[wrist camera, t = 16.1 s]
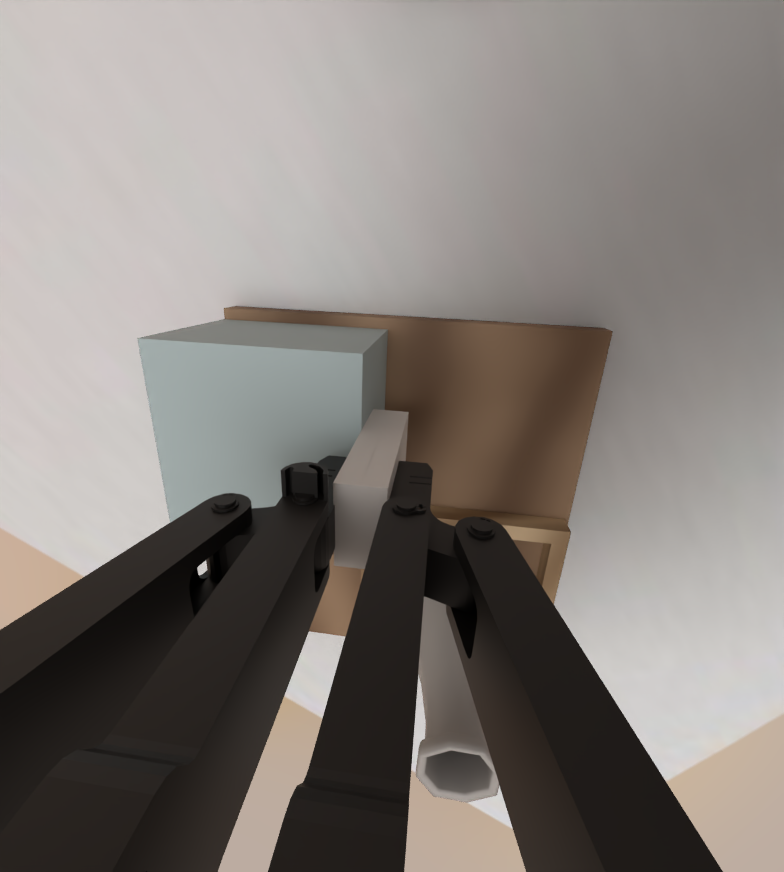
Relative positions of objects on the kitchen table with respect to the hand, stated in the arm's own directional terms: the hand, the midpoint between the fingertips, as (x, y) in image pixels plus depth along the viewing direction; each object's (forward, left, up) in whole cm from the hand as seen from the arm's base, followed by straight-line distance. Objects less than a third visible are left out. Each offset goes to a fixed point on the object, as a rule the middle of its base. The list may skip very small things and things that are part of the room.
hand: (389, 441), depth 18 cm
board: (0, +5, -5) cm, 7 cm away
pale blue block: (+5, 0, -4) cm, 6 cm away
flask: (-4, +10, -4) cm, 12 cm away
